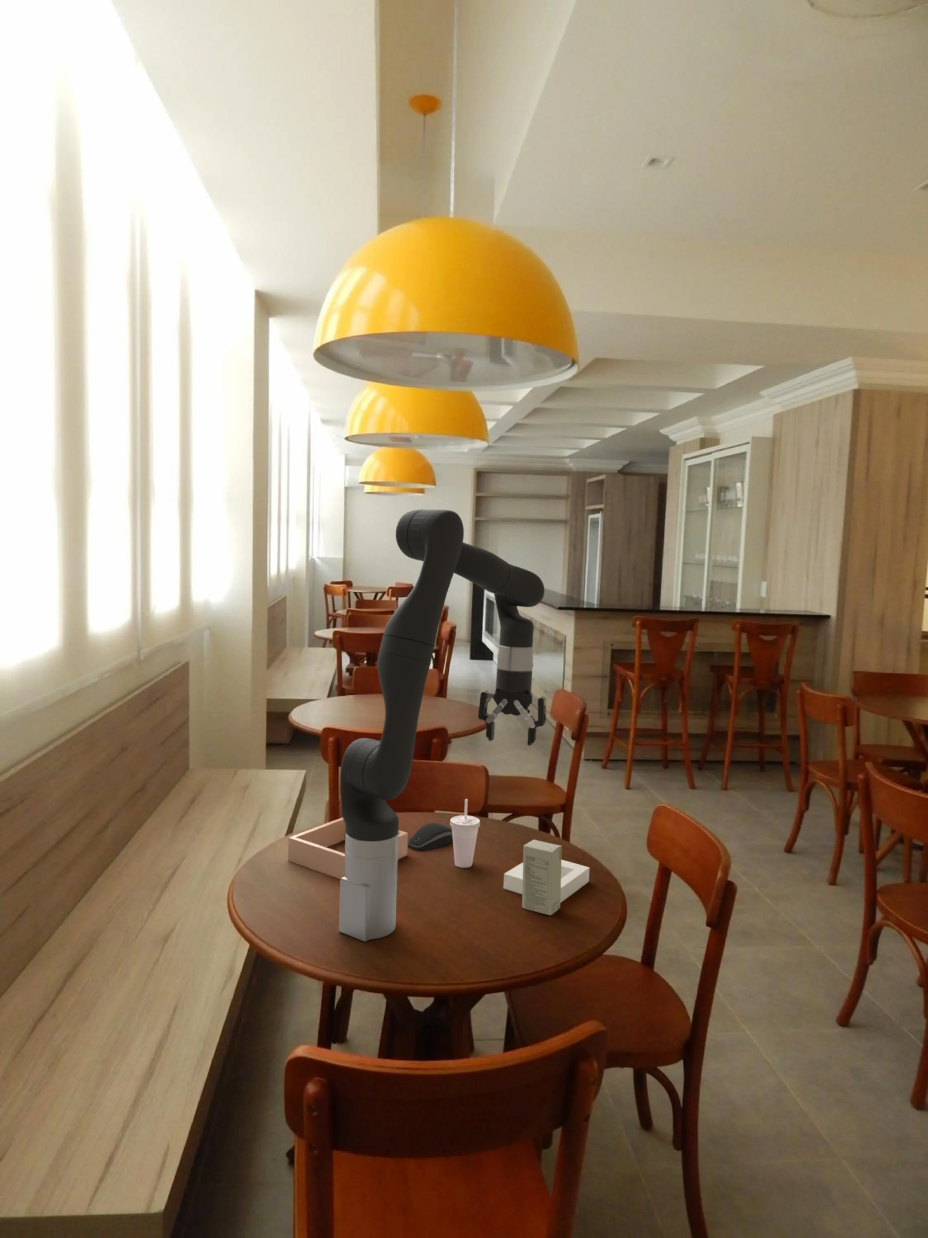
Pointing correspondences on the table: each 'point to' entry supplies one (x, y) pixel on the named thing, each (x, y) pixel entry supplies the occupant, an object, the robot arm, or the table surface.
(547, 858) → the skincare box
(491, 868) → the table surface
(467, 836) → the smoothie
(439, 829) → the computer mouse
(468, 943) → the table surface
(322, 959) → the table surface
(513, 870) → the socket board
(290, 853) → the pink square tray
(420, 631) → the robot arm
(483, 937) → the table surface
